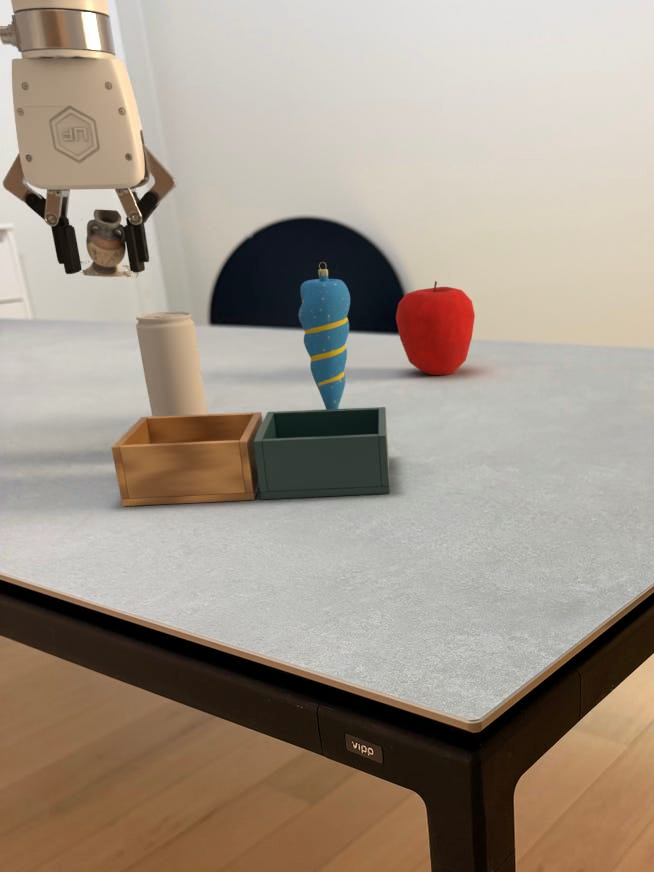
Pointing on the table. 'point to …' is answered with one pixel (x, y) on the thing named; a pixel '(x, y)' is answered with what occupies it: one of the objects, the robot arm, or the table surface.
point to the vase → (106, 245)
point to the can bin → (323, 453)
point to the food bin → (188, 459)
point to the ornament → (326, 333)
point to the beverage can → (171, 364)
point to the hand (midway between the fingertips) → (105, 269)
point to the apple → (436, 328)
